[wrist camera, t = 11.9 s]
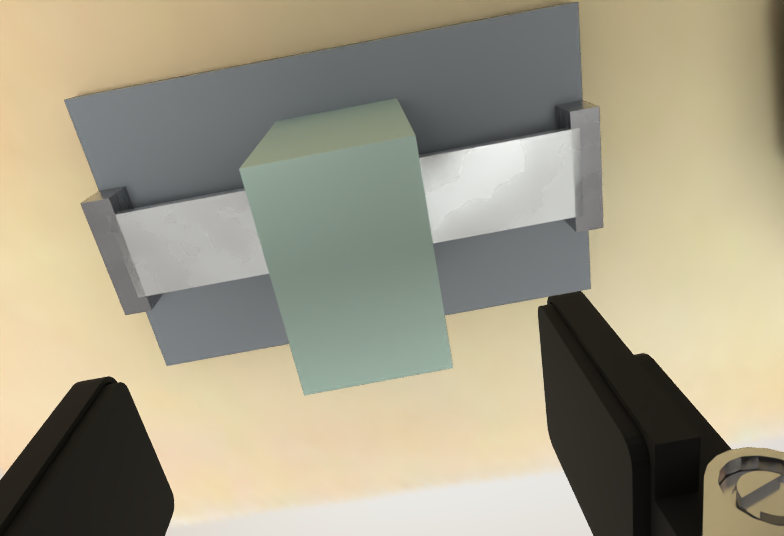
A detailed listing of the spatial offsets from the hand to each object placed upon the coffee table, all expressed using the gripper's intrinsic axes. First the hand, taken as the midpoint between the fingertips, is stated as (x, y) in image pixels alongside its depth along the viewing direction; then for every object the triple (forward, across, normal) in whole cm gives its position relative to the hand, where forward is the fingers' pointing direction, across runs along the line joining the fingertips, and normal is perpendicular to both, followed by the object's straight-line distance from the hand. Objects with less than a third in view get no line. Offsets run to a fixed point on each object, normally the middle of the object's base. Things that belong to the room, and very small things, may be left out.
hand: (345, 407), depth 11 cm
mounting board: (+14, 0, 0) cm, 14 cm away
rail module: (+13, 0, 0) cm, 13 cm away
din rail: (+13, 0, 0) cm, 13 cm away
